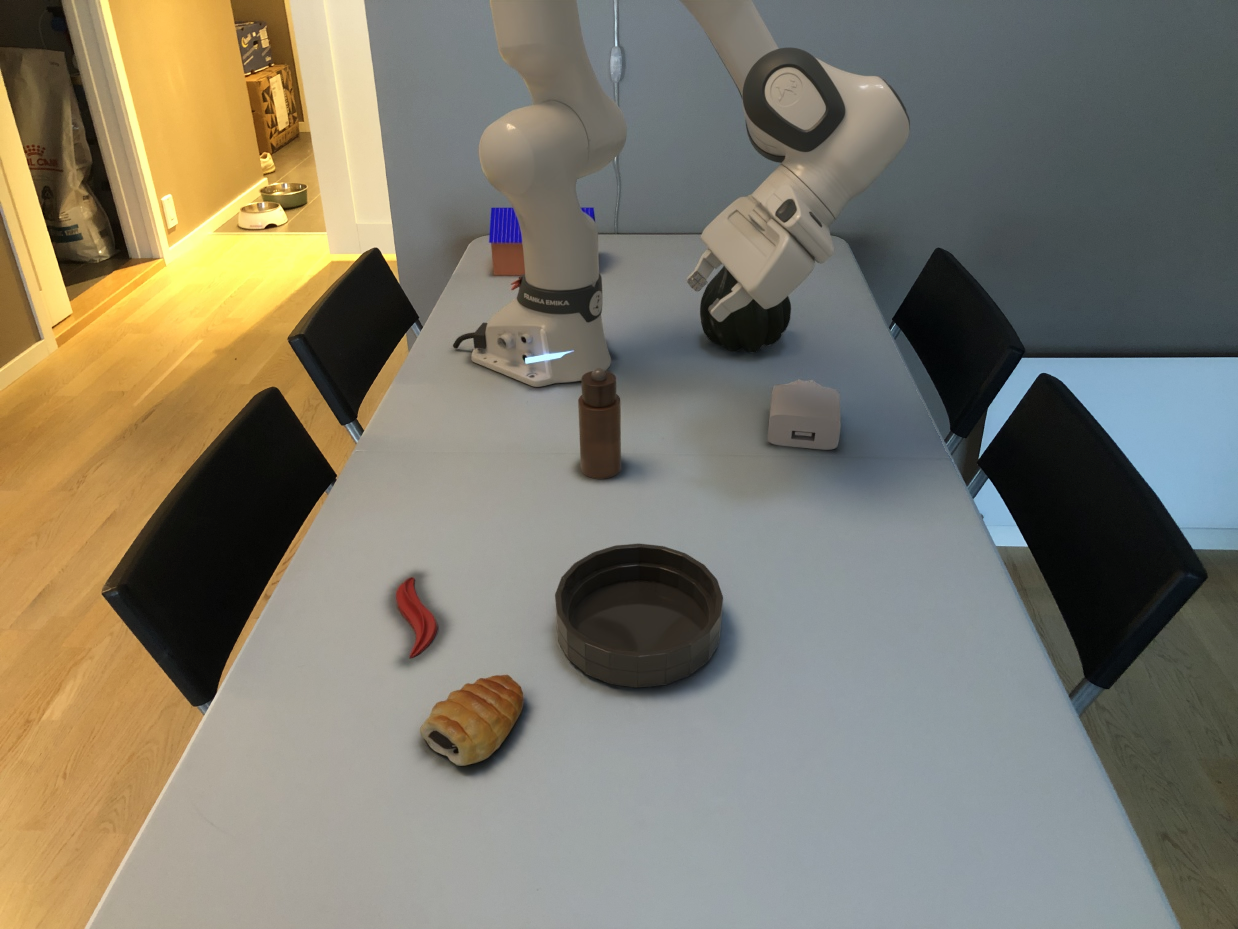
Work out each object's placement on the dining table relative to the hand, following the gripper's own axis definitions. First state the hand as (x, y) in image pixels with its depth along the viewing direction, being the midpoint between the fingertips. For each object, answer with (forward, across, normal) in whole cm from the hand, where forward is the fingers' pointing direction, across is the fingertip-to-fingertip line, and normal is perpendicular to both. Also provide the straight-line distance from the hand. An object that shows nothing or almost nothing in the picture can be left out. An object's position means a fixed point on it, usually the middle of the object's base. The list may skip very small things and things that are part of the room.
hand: (701, 300), depth 102 cm
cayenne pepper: (+41, +23, -10) cm, 48 cm away
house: (+22, -76, +8) cm, 80 cm away
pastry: (+38, +39, -6) cm, 55 cm away
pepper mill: (+24, 0, +6) cm, 25 cm away
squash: (+3, -32, +28) cm, 43 cm away
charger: (+3, -6, +28) cm, 29 cm away
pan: (+26, +30, +5) cm, 40 cm away
